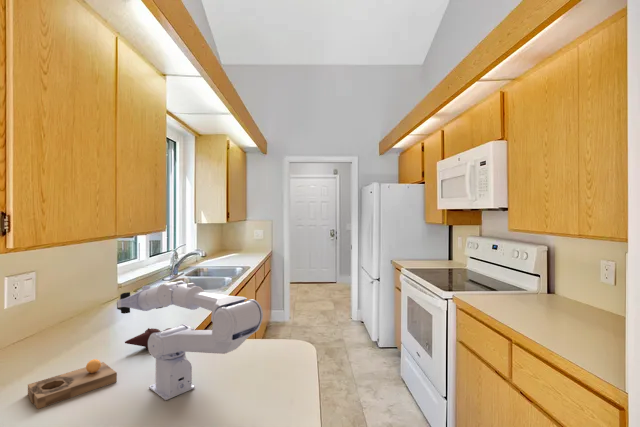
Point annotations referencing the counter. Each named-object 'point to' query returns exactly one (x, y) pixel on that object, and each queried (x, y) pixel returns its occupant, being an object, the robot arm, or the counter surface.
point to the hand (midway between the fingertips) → (131, 303)
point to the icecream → (143, 338)
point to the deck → (69, 385)
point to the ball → (93, 366)
